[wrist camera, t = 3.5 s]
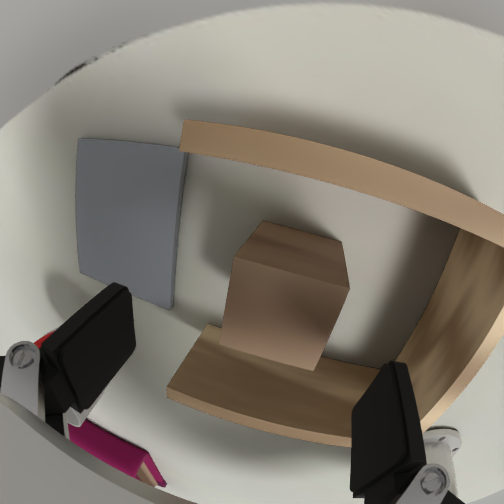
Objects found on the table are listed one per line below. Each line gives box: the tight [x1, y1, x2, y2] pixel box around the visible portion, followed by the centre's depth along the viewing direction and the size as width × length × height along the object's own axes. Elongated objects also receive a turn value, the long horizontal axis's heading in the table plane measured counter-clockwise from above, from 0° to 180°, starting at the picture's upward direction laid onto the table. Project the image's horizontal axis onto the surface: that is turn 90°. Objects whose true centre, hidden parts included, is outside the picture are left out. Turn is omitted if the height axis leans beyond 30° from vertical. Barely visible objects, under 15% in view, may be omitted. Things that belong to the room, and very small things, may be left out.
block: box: [219, 221, 350, 371], centre depth 15 cm, size 5×5×6 cm
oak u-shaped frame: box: [167, 119, 504, 447], centre depth 14 cm, size 15×16×7 cm
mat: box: [76, 138, 188, 310], centre depth 19 cm, size 12×10×1 cm
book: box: [68, 419, 167, 487], centre depth 39 cm, size 21×28×8 cm
